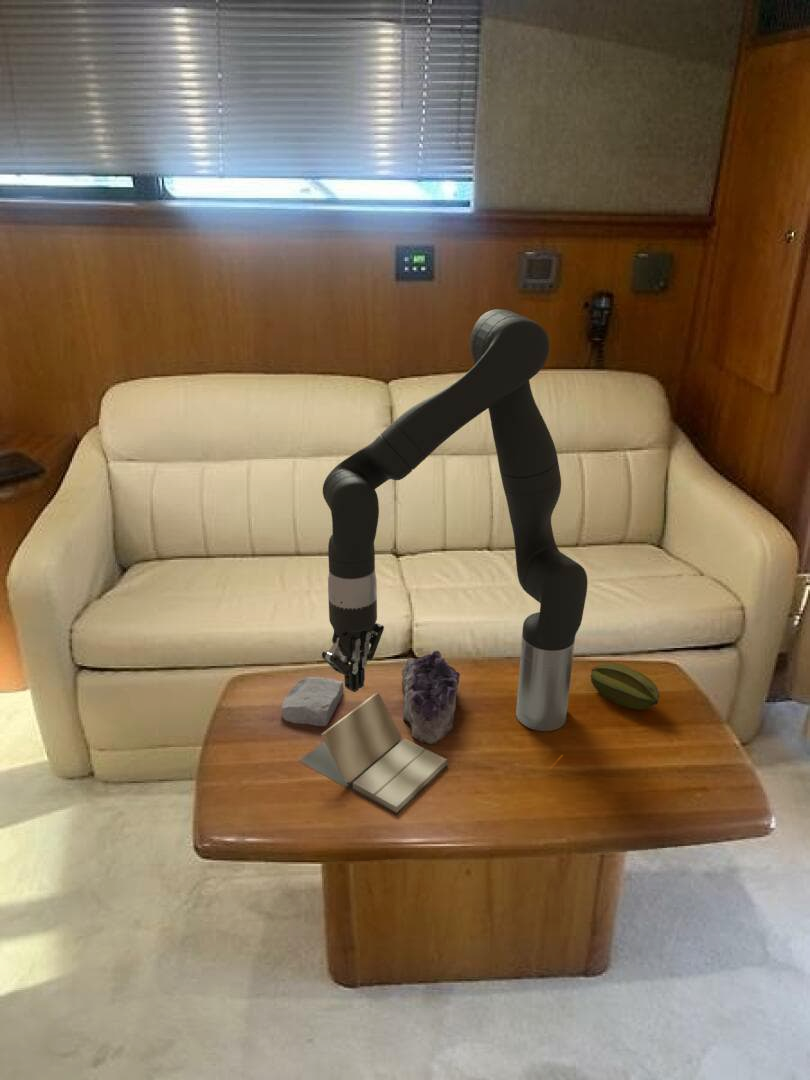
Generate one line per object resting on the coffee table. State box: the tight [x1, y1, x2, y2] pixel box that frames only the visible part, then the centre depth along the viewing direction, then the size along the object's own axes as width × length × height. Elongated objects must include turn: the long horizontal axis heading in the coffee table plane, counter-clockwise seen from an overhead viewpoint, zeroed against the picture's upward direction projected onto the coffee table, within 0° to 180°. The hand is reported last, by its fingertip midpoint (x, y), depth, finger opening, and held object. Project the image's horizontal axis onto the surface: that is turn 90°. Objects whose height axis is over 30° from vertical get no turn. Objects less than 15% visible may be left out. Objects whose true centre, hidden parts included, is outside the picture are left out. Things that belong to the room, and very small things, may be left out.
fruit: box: [590, 662, 660, 710], centre depth 150 cm, size 11×12×7 cm
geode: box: [401, 650, 461, 746], centre depth 146 cm, size 20×12×10 cm, turn 1°
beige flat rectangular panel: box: [320, 692, 403, 784], centre depth 134 cm, size 14×9×1 cm
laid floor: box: [298, 738, 450, 817], centre depth 134 cm, size 15×21×2 cm
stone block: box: [280, 676, 345, 727], centre depth 148 cm, size 12×5×10 cm
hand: (355, 687), depth 129 cm, fingers closed
